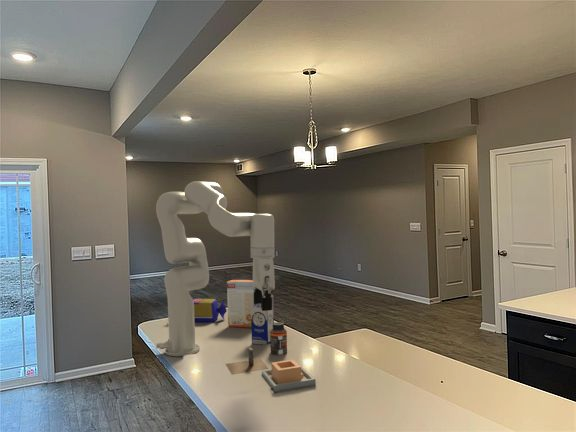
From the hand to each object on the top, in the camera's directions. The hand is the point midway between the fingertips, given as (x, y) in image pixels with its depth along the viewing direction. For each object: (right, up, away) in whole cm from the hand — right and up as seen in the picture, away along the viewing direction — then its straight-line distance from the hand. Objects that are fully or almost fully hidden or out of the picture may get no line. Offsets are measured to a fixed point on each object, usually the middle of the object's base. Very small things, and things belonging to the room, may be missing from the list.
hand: (262, 306), depth 131 cm
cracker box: (-12, -22, +59) cm, 64 cm away
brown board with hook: (-5, -21, +4) cm, 22 cm away
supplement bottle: (+5, -21, +17) cm, 28 cm away
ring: (+8, -20, -7) cm, 23 cm away
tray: (+8, -21, -7) cm, 23 cm away
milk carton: (-2, -22, +33) cm, 39 cm away
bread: (-35, -23, +72) cm, 83 cm away
